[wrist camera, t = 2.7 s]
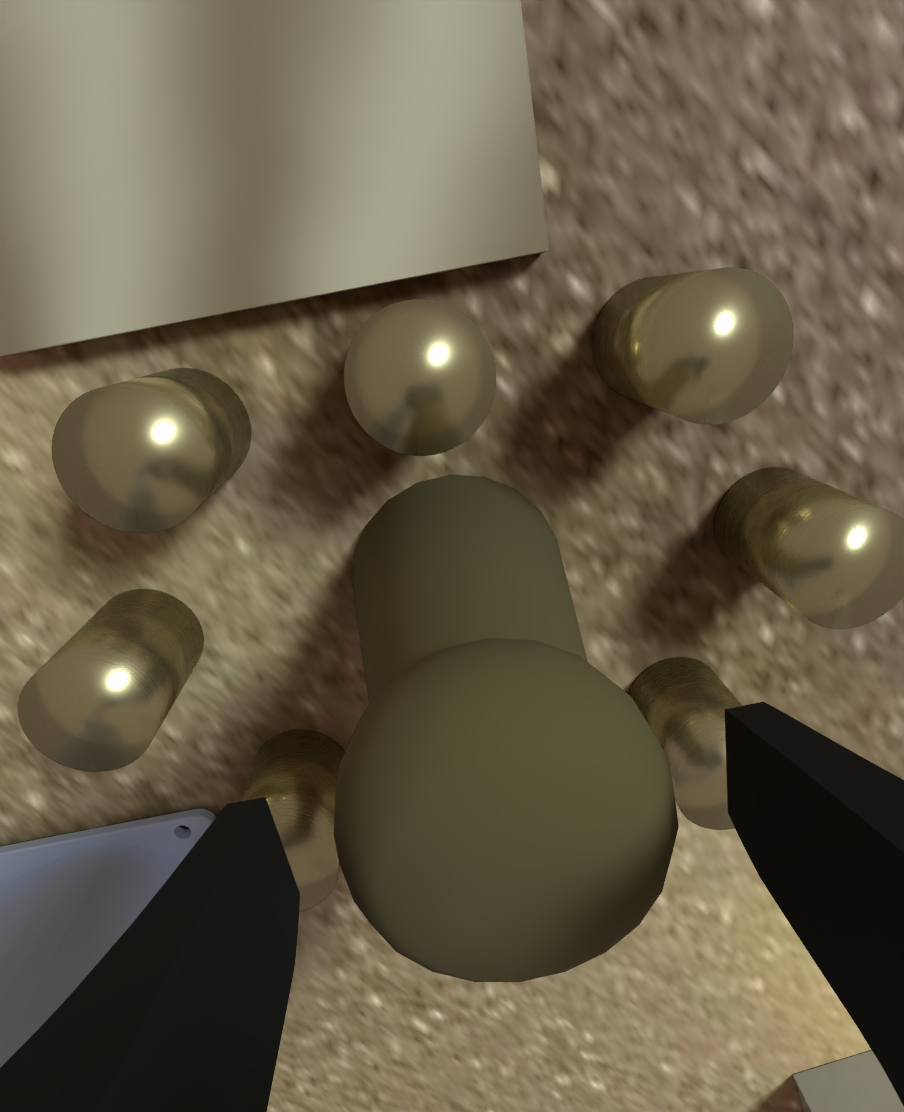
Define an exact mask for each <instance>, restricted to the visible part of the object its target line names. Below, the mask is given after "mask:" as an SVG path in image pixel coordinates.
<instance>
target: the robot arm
mask: <svg viewBox="0 0 904 1112" xmlns="http://www.w3.org/2000/svg"><path fill="white" fill-rule="evenodd" d="M724 710H725V741H726V773H727V804H728V814H729V816H730V818H731V820H732V823H733V825H734V827H735V829H736V831H737V833H738V835H739V837H740V839H741V841H742V843H743V845H744V847H745V849H746V851H747V853H748V855H749V857H750V859H751V861H752V863H753V865H754V867H755V869H756V871H757V872H758V874H759V876H760V878H761V879H762V881H763V883H764V884H765V886H766V887H767V889H768V890H769V892H770V894H771V895H772V897H773V898H774V900H775V901H776V903H777V904H778V906H779V907H780V909H781V911H782V912H783V914H784V915H785V917H786V918H787V920H788V921H789V923H790V924H791V926H792V928H793V929H794V931H795V932H796V934H797V935H798V937H799V938H800V940H801V941H802V943H803V944H804V946H805V947H806V949H807V950H808V952H809V953H810V955H811V957H812V958H813V960H814V961H815V963H816V964H817V966H818V967H819V969H820V970H821V972H822V973H823V975H824V976H825V978H826V979H827V981H828V982H829V984H830V985H831V987H832V989H833V990H834V992H835V993H836V995H837V996H838V998H839V999H840V1001H841V1002H842V1004H843V1005H844V1007H845V1008H846V1010H847V1011H848V1013H849V1014H850V1016H851V1017H852V1019H853V1021H854V1022H855V1024H856V1025H857V1027H858V1028H859V1030H860V1031H861V1033H862V1035H863V1036H864V1038H865V1040H866V1041H867V1043H868V1045H869V1046H870V1048H871V1049H872V1051H873V1053H874V1054H875V1056H876V1058H877V1059H878V1061H879V1063H880V1064H881V1066H882V1068H883V1069H884V1071H885V1073H886V1075H887V1077H888V1079H889V1080H890V1082H891V1084H892V1086H893V1088H894V1090H895V1091H896V1093H897V1095H898V1097H899V1099H900V1101H901V1102H902V1104H903V1106H904V780H903V779H901V778H899V777H897V776H895V775H893V774H891V773H890V772H888V771H886V770H884V769H882V768H880V767H879V766H877V765H875V764H873V763H871V762H870V761H868V760H866V759H864V758H862V757H861V756H859V755H857V754H855V753H853V752H852V751H850V750H848V749H846V748H845V747H843V746H841V745H839V744H838V743H836V742H834V741H832V740H831V739H829V738H827V737H825V736H824V735H822V734H820V733H818V732H817V731H815V730H813V729H811V728H810V727H808V726H806V725H804V724H803V723H801V722H799V721H797V720H796V719H794V718H792V717H790V716H789V715H787V714H785V713H783V712H781V711H780V710H778V709H776V708H774V707H772V706H770V705H768V704H767V703H765V702H760V703H755V704H750V705H745V706H739V707H734V708H729V709H724ZM180 826H186V827H189V829H183V828H181V827H180ZM299 905H300V892H299V889H298V887H297V884H296V881H295V878H294V875H293V873H292V870H291V867H290V864H289V861H288V859H287V856H286V853H285V850H284V847H283V845H282V842H281V839H280V836H279V833H278V830H277V828H276V825H275V822H274V819H273V816H272V814H271V811H270V808H269V805H268V802H267V800H266V797H263V798H257V799H252V800H247V801H242V802H236V803H231V804H227V805H226V806H225V807H224V809H223V810H222V811H221V812H220V813H219V815H218V816H217V817H216V816H215V815H214V813H212V812H211V811H209V810H206V809H193V810H188V811H183V812H178V813H173V814H167V815H162V816H157V817H152V818H147V819H141V820H136V821H131V822H126V823H121V824H115V825H110V826H105V827H100V828H94V829H89V830H84V831H79V832H74V833H68V834H63V835H58V836H53V837H48V838H42V839H37V840H32V841H27V842H22V843H16V844H11V845H6V846H1V847H0V1112H266V1111H267V1106H268V1101H269V1096H270V1091H271V1086H272V1081H273V1075H274V1070H275V1065H276V1060H277V1055H278V1050H279V1045H280V1040H281V1035H282V1030H283V1025H284V1019H285V1014H286V1009H287V1004H288V998H289V993H290V988H291V983H292V977H293V971H294V966H295V957H296V945H297V934H298V920H299Z"/></svg>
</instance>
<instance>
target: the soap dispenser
mask: <svg viewBox="0 0 904 1112" xmlns="http://www.w3.org/2000/svg"><path fill="white" fill-rule="evenodd" d="M793 1077H794V1080H795V1084H796V1087H797V1091H798V1094H799V1098H800V1101H801V1105H802V1108H803V1112H904V1106H903V1104H902V1102H901V1101H900V1099H899V1097H898V1095H897V1093H896V1091H895V1090H894V1088H893V1086H892V1084H891V1082H890V1080H889V1079H888V1077H887V1075H886V1073H885V1071H884V1069H883V1068H882V1066H881V1064H880V1063H879V1061H878V1059H877V1058H876V1056H875V1054H874V1053H873V1051H872V1050H871V1051H868V1052H865V1053H861V1054H858V1055H855V1056H852V1057H849V1058H845V1059H842V1060H839V1061H836V1062H832V1063H829V1064H826V1065H823V1066H820V1067H816V1068H813V1069H810V1070H807V1071H803V1072H800V1073H797V1074H794V1075H793Z"/></svg>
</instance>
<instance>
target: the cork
mask: <svg viewBox="0 0 904 1112" xmlns="http://www.w3.org/2000/svg"><path fill="white" fill-rule="evenodd" d="M353 594H354V601H355V608H356V615H357V622H358V629H359V636H360V643H361V650H362V657H363V663H364V670H365V677H366V684H367V691H368V698H369V705H368V707H367V709H366V710H365V712H364V714H363V715H362V717H361V719H360V720H359V722H358V724H357V726H356V729H355V731H354V733H353V735H352V738H351V740H350V742H349V744H348V747H347V749H346V751H345V754H344V756H343V758H342V760H341V763H340V765H339V771H338V777H337V783H336V789H335V811H334V839H335V844H336V849H337V854H338V859H339V863H340V866H341V869H342V871H343V874H344V876H345V879H346V882H347V884H348V887H349V889H350V892H351V895H352V897H353V900H354V902H355V903H356V905H357V906H358V907H359V909H360V910H361V911H362V913H363V914H364V916H365V917H366V918H367V920H368V921H369V922H370V924H371V925H372V926H373V927H374V928H375V929H376V930H377V931H378V932H379V933H380V934H381V936H382V937H383V938H384V939H385V940H386V941H387V942H388V943H389V944H390V945H391V946H392V948H393V949H394V950H395V951H396V952H398V953H400V954H401V955H403V956H405V957H407V958H409V959H410V960H412V961H414V962H416V963H418V964H420V965H421V966H423V967H425V968H427V969H429V970H430V971H432V972H436V973H440V974H444V975H449V976H453V977H457V978H461V979H465V980H469V981H474V982H522V981H526V980H531V979H535V978H539V977H544V976H548V975H553V974H557V973H562V972H565V971H568V970H570V969H572V968H574V967H576V966H578V965H580V964H582V963H584V962H586V961H589V960H591V959H593V958H595V957H597V956H599V955H601V954H603V953H605V952H607V951H608V950H609V949H610V948H612V947H613V946H614V945H615V944H616V943H618V942H619V941H620V940H621V939H622V938H624V937H625V936H626V935H627V934H629V933H630V932H631V931H632V930H633V929H635V928H636V927H637V926H638V925H639V924H640V923H641V921H642V920H643V918H644V917H645V915H646V914H647V912H648V911H649V910H650V908H651V907H652V905H653V904H654V902H655V901H656V899H657V898H658V896H659V895H660V893H661V892H662V889H663V886H664V882H665V878H666V874H667V871H668V867H669V863H670V859H671V856H672V852H673V847H674V843H675V839H676V835H677V831H678V819H677V811H676V804H675V796H674V788H673V782H672V777H671V772H670V767H669V762H668V757H667V756H666V754H665V752H664V751H663V749H662V747H661V745H660V744H659V742H658V740H657V739H656V737H655V735H654V733H653V732H652V730H651V728H650V727H649V725H648V723H647V721H646V720H645V718H644V716H643V715H642V713H641V712H640V710H639V708H638V707H637V705H636V703H635V702H634V700H633V699H632V697H631V696H630V695H628V694H627V693H626V692H625V691H623V690H622V689H621V688H620V687H618V686H617V685H616V684H615V683H613V682H612V681H611V680H610V679H608V678H607V677H606V676H605V675H603V674H602V673H601V672H600V671H598V670H597V669H596V668H595V667H593V666H592V665H591V664H589V663H588V661H587V657H586V653H585V649H584V646H583V642H582V638H581V634H580V630H579V626H578V622H577V618H576V614H575V610H574V606H573V602H572V598H571V594H570V590H569V586H568V582H567V578H566V574H565V570H564V566H563V562H562V558H561V555H560V551H559V547H558V543H557V539H556V537H555V535H554V533H553V531H552V530H551V528H550V526H549V524H548V523H547V521H546V519H545V518H544V516H543V514H542V512H541V511H540V510H539V509H538V508H537V507H535V506H534V505H533V504H532V503H531V502H530V501H529V500H527V499H526V498H525V497H524V496H523V495H522V494H520V493H519V492H518V491H517V490H515V489H513V488H510V487H508V486H505V485H503V484H500V483H498V482H495V481H493V480H491V479H488V478H486V477H474V476H460V475H448V476H444V477H439V478H435V479H431V480H427V481H423V482H419V483H416V484H414V485H413V486H411V487H409V488H408V489H406V490H404V491H403V492H401V493H399V494H398V495H396V496H394V497H393V498H391V499H389V500H388V501H387V502H386V503H385V504H384V505H383V506H382V508H381V509H380V510H379V511H378V512H377V513H376V515H375V516H374V517H373V518H372V519H371V520H370V522H369V523H368V524H367V525H366V526H365V529H364V531H363V534H362V536H361V539H360V541H359V544H358V546H357V549H356V551H355V554H354V562H353Z"/></svg>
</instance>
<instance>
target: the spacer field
mask: <svg viewBox="0 0 904 1112" xmlns="http://www.w3.org/2000/svg"><path fill="white" fill-rule="evenodd" d="M793 336H794V334H793V322H792V317H791V313H790V310H789V307H788V305H787V303H786V301H785V299H784V297H783V295H782V294H781V292H780V291H779V290H778V289H777V287H776V286H775V285H774V284H773V283H772V282H770V281H769V280H768V279H766V278H765V277H763V276H762V275H760V274H758V273H756V272H753V271H750V270H747V269H741V268H720V269H712V270H704V271H696V272H687V273H679V274H671V275H663V276H655V277H647V278H643V279H639V280H636V281H634V282H631V283H630V284H628V285H626V286H624V287H623V288H622V289H620V290H619V291H618V292H616V293H615V294H614V295H613V296H612V297H611V298H610V300H609V301H608V302H607V303H606V305H605V306H604V308H603V310H602V311H601V313H600V315H599V317H598V319H597V322H596V325H595V329H594V334H593V355H594V360H595V364H596V367H597V369H598V371H599V373H600V375H601V376H602V378H603V380H604V381H605V382H606V383H607V384H608V385H609V386H610V387H611V388H612V389H613V390H615V391H616V392H618V393H620V394H622V395H624V396H626V397H629V398H631V399H634V400H636V401H639V402H641V403H643V404H646V405H648V406H651V407H653V408H656V409H658V410H661V411H663V412H666V413H668V414H671V415H673V416H676V417H678V418H681V419H683V420H686V421H689V422H692V423H697V424H703V425H714V424H722V423H726V422H730V421H733V420H735V419H738V418H740V417H742V416H744V415H746V414H748V413H749V412H751V411H752V410H754V409H755V408H757V407H758V406H759V405H760V404H761V403H762V402H764V401H765V400H766V399H767V398H768V396H769V395H770V394H771V393H772V392H773V391H774V389H775V388H776V387H777V385H778V384H779V382H780V380H781V379H782V377H783V375H784V373H785V371H786V368H787V366H788V363H789V360H790V357H791V352H792V347H793ZM344 387H345V393H346V397H347V400H348V404H349V406H350V408H351V411H352V413H353V415H354V417H355V418H356V420H357V422H358V423H359V424H360V426H361V427H362V428H363V429H364V431H365V432H366V433H367V434H368V435H370V436H371V437H372V438H373V439H374V440H376V441H377V442H378V443H380V444H381V445H383V446H385V447H387V448H389V449H391V450H393V451H396V452H399V453H403V454H407V455H414V456H427V455H435V454H439V453H443V452H445V451H448V450H450V449H453V448H455V447H456V446H458V445H460V444H462V443H463V442H464V441H466V440H467V439H468V438H469V437H470V436H472V435H473V434H474V433H475V432H476V430H477V429H478V428H479V427H480V425H481V424H482V423H483V421H484V419H485V418H486V416H487V414H488V412H489V410H490V407H491V405H492V401H493V398H494V393H495V388H496V370H495V363H494V358H493V355H492V352H491V349H490V346H489V344H488V342H487V340H486V338H485V337H484V335H483V334H482V332H481V331H480V329H479V328H478V327H477V326H476V325H475V324H474V322H473V321H472V320H470V319H469V318H468V317H467V316H466V315H465V314H463V313H462V312H460V311H459V310H457V309H455V308H453V307H451V306H449V305H447V304H444V303H441V302H438V301H433V300H427V299H413V300H405V301H401V302H397V303H394V304H392V305H389V306H387V307H385V308H383V309H382V310H380V311H378V312H377V313H375V314H374V315H373V316H372V317H370V318H369V319H368V320H367V321H366V322H365V323H364V324H363V326H362V327H361V328H360V329H359V331H358V332H357V334H356V335H355V337H354V339H353V341H352V343H351V345H350V347H349V350H348V353H347V356H346V361H345V367H344ZM250 442H251V425H250V420H249V416H248V414H247V411H246V408H245V407H244V405H243V403H242V401H241V400H240V398H239V397H238V395H237V394H236V393H235V392H234V391H233V389H232V388H231V387H229V386H228V385H227V384H226V383H225V382H223V381H222V380H221V379H219V378H217V377H216V376H214V375H212V374H210V373H207V372H205V371H201V370H198V369H192V368H175V369H170V370H166V371H162V372H158V373H155V374H151V375H147V376H143V377H140V378H136V379H132V380H128V381H124V382H121V383H117V384H113V385H109V386H105V387H102V388H98V389H94V390H92V391H89V392H87V393H85V394H83V395H81V396H80V397H78V398H77V399H75V400H74V401H73V402H72V403H71V404H70V405H69V406H68V407H67V408H66V409H65V410H64V412H63V413H62V415H61V416H60V418H59V420H58V422H57V424H56V427H55V430H54V434H53V438H52V459H53V464H54V468H55V471H56V474H57V477H58V479H59V481H60V483H61V485H62V487H63V489H64V490H65V492H66V493H67V495H68V496H69V497H70V498H71V500H72V501H73V502H74V503H75V504H76V505H77V506H78V507H79V508H80V509H81V510H82V511H83V512H84V513H86V514H87V515H88V516H90V517H91V518H93V519H94V520H96V521H98V522H99V523H101V524H103V525H105V526H108V527H110V528H113V529H116V530H119V531H124V532H128V533H137V534H142V533H155V532H159V531H163V530H166V529H169V528H171V527H174V526H176V525H177V524H179V523H181V522H182V521H183V520H185V519H186V518H187V517H189V516H190V515H191V514H192V513H193V512H194V511H195V510H196V509H197V508H198V507H199V506H200V505H201V504H202V503H203V502H204V501H205V500H206V499H207V498H208V497H209V496H210V495H211V494H212V493H213V492H214V491H215V490H216V489H217V488H219V487H220V486H221V485H222V484H223V483H224V482H225V481H226V480H227V479H228V478H229V477H230V476H231V475H232V474H233V473H234V472H235V471H236V470H237V469H238V468H239V467H240V466H241V464H242V463H243V461H244V460H245V458H246V456H247V453H248V450H249V447H250ZM714 529H715V536H716V540H717V543H718V545H719V547H720V549H721V550H722V552H723V553H724V554H725V555H726V556H727V557H728V558H729V559H731V560H732V561H733V562H735V563H736V564H737V565H738V566H740V567H741V568H742V569H744V570H745V571H746V572H747V573H749V574H750V575H751V576H753V577H754V578H755V579H757V580H758V581H759V582H760V583H762V584H763V585H764V586H766V587H767V588H768V589H769V590H771V591H772V592H773V593H775V594H776V595H777V596H779V597H780V598H781V599H782V600H784V601H785V602H786V603H788V604H789V605H790V606H791V607H793V608H794V609H795V610H797V611H798V612H799V613H801V614H802V615H803V616H804V617H806V618H807V619H808V620H810V621H811V622H813V623H815V624H817V625H819V626H822V627H826V628H832V629H847V628H854V627H858V626H861V625H864V624H867V623H869V622H871V621H873V620H875V619H877V618H879V617H880V616H882V615H884V614H885V613H886V612H887V611H889V610H890V609H891V608H892V607H893V606H895V605H896V604H897V603H898V602H899V600H900V599H901V598H902V597H903V596H904V519H903V518H902V517H900V516H899V515H897V514H895V513H893V512H891V511H888V510H886V509H884V508H881V507H879V506H877V505H874V504H872V503H869V502H867V501H865V500H862V499H860V498H857V497H855V496H853V495H850V494H848V493H846V492H843V491H841V490H838V489H836V488H834V487H831V486H829V485H827V484H824V483H822V482H819V481H817V480H815V479H812V478H810V477H807V476H805V475H803V474H800V473H798V472H796V471H793V470H790V469H787V468H781V467H770V468H764V469H760V470H757V471H755V472H752V473H750V474H748V475H746V476H745V477H743V478H742V479H740V480H739V481H738V482H736V483H735V484H734V485H733V486H732V487H731V488H730V489H729V490H728V492H727V493H726V494H725V496H724V497H723V499H722V501H721V503H720V505H719V507H718V510H717V513H716V517H715V527H714ZM203 646H204V636H203V631H202V627H201V625H200V623H199V621H198V619H197V617H196V616H195V614H194V613H193V612H192V611H191V609H189V608H188V607H187V606H186V605H185V604H184V603H183V602H181V601H180V600H178V599H177V598H175V597H173V596H171V595H169V594H167V593H164V592H161V591H156V590H150V589H136V590H130V591H126V592H123V593H121V594H118V595H117V596H115V597H113V598H112V599H111V600H109V601H108V602H107V603H106V604H105V605H104V606H103V607H102V608H101V609H100V610H99V611H98V612H97V613H96V614H95V615H94V616H93V617H92V618H91V619H90V620H89V621H88V622H87V623H86V624H85V625H84V626H83V627H82V628H81V629H80V630H79V631H78V632H77V633H76V634H75V635H74V636H73V637H72V638H71V639H70V640H69V641H68V642H67V643H66V644H65V645H64V646H63V647H62V648H61V649H60V650H59V651H58V652H57V653H56V654H55V655H54V656H53V657H52V658H51V659H49V660H48V661H47V662H46V663H45V664H44V665H43V666H42V667H41V668H40V669H39V670H38V671H37V672H36V673H35V674H34V675H33V676H32V677H31V678H30V680H29V681H28V682H27V683H26V685H25V686H24V688H23V690H22V692H21V694H20V697H19V701H18V716H19V720H20V724H21V726H22V729H23V731H24V733H25V734H26V736H27V738H28V739H29V740H30V741H31V743H32V744H33V745H34V746H35V747H36V748H37V749H38V750H39V751H40V752H42V753H43V754H44V755H45V756H47V757H49V758H50V759H52V760H53V761H55V762H57V763H59V764H62V765H64V766H67V767H70V768H73V769H77V770H83V771H92V772H99V771H109V770H114V769H118V768H121V767H124V766H126V765H128V764H130V763H132V762H133V761H135V760H136V759H138V758H139V757H140V756H141V755H142V754H143V753H144V752H145V751H146V749H147V748H148V747H149V745H150V743H151V741H152V740H153V738H154V736H155V735H156V733H157V731H158V729H159V728H160V726H161V724H162V723H163V721H164V719H165V717H166V716H167V714H168V712H169V711H170V709H171V707H172V705H173V704H174V702H175V700H176V699H177V697H178V695H179V693H180V692H181V690H182V688H183V687H184V685H185V683H186V681H187V680H188V678H189V676H190V675H191V673H192V671H193V669H194V668H195V666H196V664H197V663H198V661H199V659H200V657H201V654H202V651H203ZM629 695H630V696H631V697H632V699H633V700H634V702H635V703H636V705H637V707H638V708H639V710H640V712H641V713H642V715H643V716H644V718H645V720H646V721H647V723H648V725H649V727H650V728H651V730H652V732H653V733H654V735H655V737H656V739H657V740H658V742H659V744H660V745H661V747H662V749H663V751H664V752H665V754H666V756H667V757H668V762H669V767H670V772H671V777H672V782H673V788H674V796H675V801H676V803H677V805H678V806H679V808H680V810H681V812H682V813H683V814H684V816H685V817H686V818H688V819H689V820H690V821H691V822H693V823H694V824H697V825H699V826H701V827H704V828H708V829H716V830H727V829H734V828H735V827H734V825H733V823H732V820H731V818H730V816H729V814H728V804H727V773H726V741H725V710H724V709H729V708H734V707H739V706H742V704H741V703H740V702H739V701H738V700H737V698H736V697H735V696H734V695H733V694H732V693H731V691H730V690H729V689H728V688H727V687H726V686H725V684H724V683H723V682H722V681H721V680H720V678H719V677H718V676H717V675H716V674H715V673H714V671H713V670H712V669H711V668H710V667H709V666H707V665H706V664H705V663H703V662H701V661H699V660H696V659H692V658H686V657H676V658H670V659H666V660H663V661H660V662H658V663H656V664H654V665H652V666H650V667H649V668H647V669H646V670H645V671H644V672H642V673H641V675H640V676H639V677H638V678H637V679H636V680H635V682H634V683H633V685H632V687H631V689H630V691H629ZM344 754H345V752H344V751H343V750H342V748H341V747H340V746H339V745H338V744H337V743H336V742H334V741H333V740H332V739H330V738H328V737H327V736H324V735H322V734H319V733H316V732H312V731H303V730H299V731H289V732H285V733H282V734H280V735H277V736H275V737H273V738H272V739H270V740H269V741H267V742H266V743H265V744H264V745H263V746H262V748H261V749H260V750H259V752H258V754H257V756H256V758H255V761H254V764H253V767H252V770H251V773H250V776H249V779H248V782H247V785H246V788H245V791H244V795H243V798H242V801H247V800H252V799H257V798H263V797H266V800H267V802H268V805H269V808H270V811H271V814H272V816H273V819H274V822H275V825H276V828H277V830H278V833H279V836H280V839H281V842H282V845H283V847H284V850H285V853H286V856H287V859H288V861H289V864H290V867H291V870H292V873H293V875H294V878H295V881H296V884H297V887H298V889H299V892H300V905H299V912H300V911H303V910H306V909H309V908H311V907H313V906H315V905H317V904H318V903H320V902H321V901H322V900H324V899H325V898H326V897H327V896H328V895H329V894H330V892H331V891H332V889H333V888H334V886H335V884H336V880H337V876H338V868H339V859H338V854H337V849H336V844H335V839H334V811H335V789H336V783H337V777H338V771H339V765H340V763H341V760H342V758H343V756H344ZM242 801H241V802H242Z"/></svg>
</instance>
